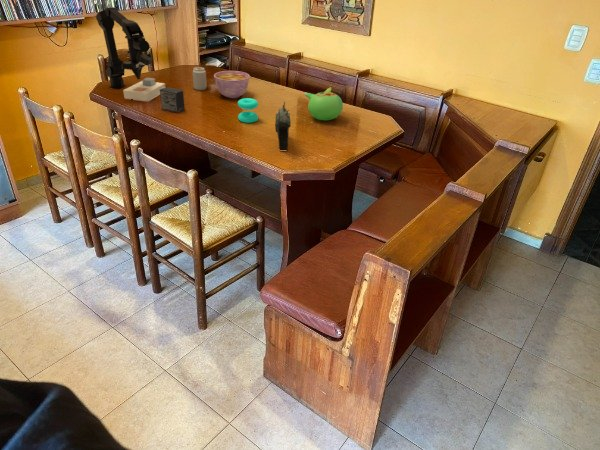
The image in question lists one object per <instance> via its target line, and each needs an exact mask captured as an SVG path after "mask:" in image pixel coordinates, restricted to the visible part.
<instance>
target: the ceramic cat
mask: <svg viewBox="0 0 600 450" xmlns="http://www.w3.org/2000/svg"><path fill="white" fill-rule="evenodd" d="M285 105H286V102H285V101H284V102H283V105H282V107H281V108H279V109H278V112H277V113H275V122H274V123H275V124H274V125H275V126H274V129H275V132H276V133H277V137H278V149H280V150H287V151H288V148H289V136H290V135H289V134H290V133H289V131H290V128H291V126H292V125H291V115H290V114H291V113H289V109H287V108H285ZM280 150H279V151H280Z"/></svg>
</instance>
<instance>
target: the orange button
mask: <svg viewBox="0 0 600 450" xmlns="http://www.w3.org/2000/svg"><path fill="white" fill-rule="evenodd" d="M134 90H135V91H144V90H146V88H141V87H137V88H135V89H134Z"/></svg>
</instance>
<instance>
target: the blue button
mask: <svg viewBox="0 0 600 450" xmlns="http://www.w3.org/2000/svg"><path fill="white" fill-rule="evenodd" d="M141 81H142V82H143V85H145V86H153V85H155V82H156V78H154V77H153V78H152V77H145V78H144V79H142V80H141Z"/></svg>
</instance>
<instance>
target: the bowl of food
mask: <svg viewBox="0 0 600 450" xmlns="http://www.w3.org/2000/svg"><path fill="white" fill-rule="evenodd" d="M250 76H251V75H250V74H249V73H247V72H244V71H239V70H224V71H217V72H215V73H214V74H213V78H214V81H215V86H216V89H217V91H218V92H219V93H220V94H221V95H222V96H224V97H226V98H229V99H237V98H240V97H241V96H243V95H244V94H246V92H247V90H248V85H249V81H250Z"/></svg>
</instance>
